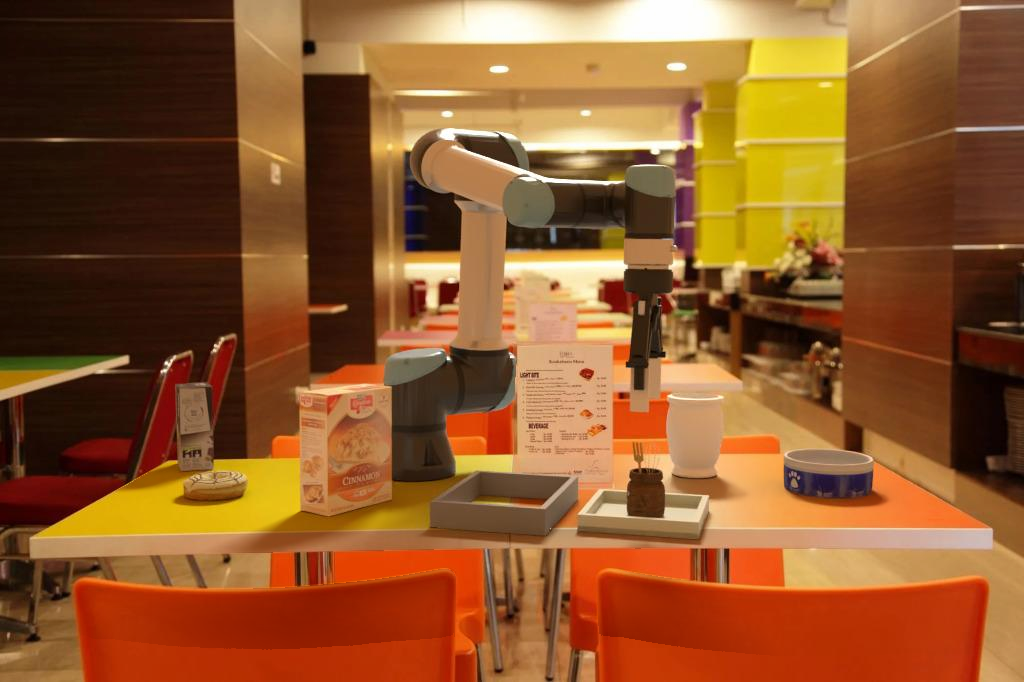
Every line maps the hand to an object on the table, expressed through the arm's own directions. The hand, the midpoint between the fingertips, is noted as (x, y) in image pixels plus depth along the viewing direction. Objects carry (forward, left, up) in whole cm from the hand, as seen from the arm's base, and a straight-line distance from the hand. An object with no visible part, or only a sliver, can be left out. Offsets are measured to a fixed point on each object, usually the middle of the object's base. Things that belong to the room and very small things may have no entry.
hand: (645, 405), depth 163 cm
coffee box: (-91, +19, -18) cm, 95 cm away
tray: (0, 0, -18) cm, 18 cm away
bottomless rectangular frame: (-22, -1, -18) cm, 28 cm away
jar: (+4, +37, -18) cm, 41 cm away
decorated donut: (-74, -2, -19) cm, 76 cm away
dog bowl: (+28, +31, -19) cm, 46 cm away
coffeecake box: (-49, -3, -18) cm, 52 cm away
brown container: (0, 0, -18) cm, 18 cm away
